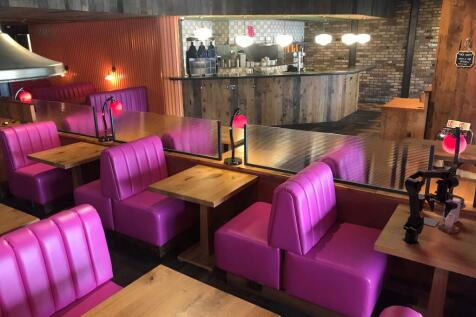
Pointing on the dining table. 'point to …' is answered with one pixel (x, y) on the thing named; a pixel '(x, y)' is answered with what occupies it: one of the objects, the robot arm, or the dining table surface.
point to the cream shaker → (449, 221)
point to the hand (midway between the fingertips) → (438, 214)
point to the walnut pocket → (454, 229)
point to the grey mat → (430, 222)
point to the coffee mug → (421, 202)
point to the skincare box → (454, 211)
